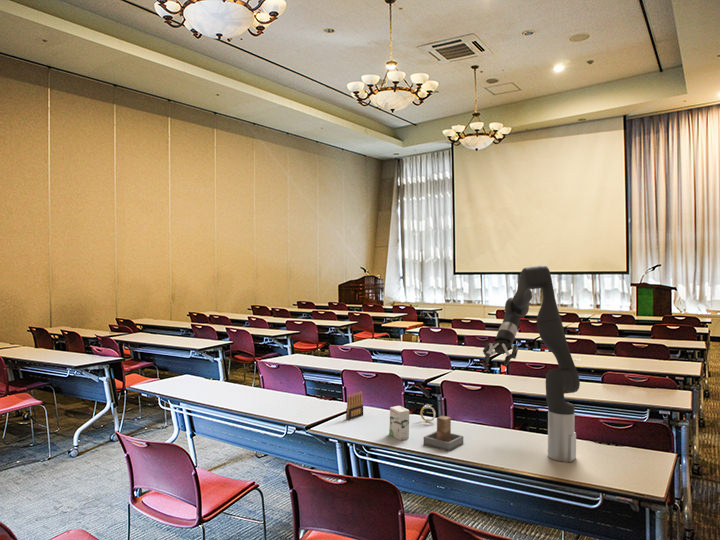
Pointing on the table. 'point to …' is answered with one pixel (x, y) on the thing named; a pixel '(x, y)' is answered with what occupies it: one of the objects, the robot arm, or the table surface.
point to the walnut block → (444, 428)
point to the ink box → (399, 422)
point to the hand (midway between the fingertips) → (495, 363)
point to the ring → (425, 408)
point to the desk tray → (432, 441)
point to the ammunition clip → (354, 406)
